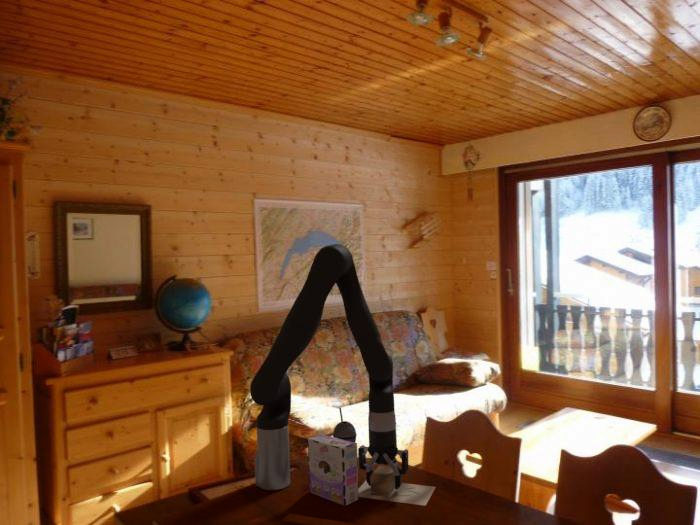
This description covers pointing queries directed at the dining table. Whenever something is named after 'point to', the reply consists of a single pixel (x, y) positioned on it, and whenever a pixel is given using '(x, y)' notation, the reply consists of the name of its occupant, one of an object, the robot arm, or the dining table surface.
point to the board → (401, 493)
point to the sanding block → (382, 481)
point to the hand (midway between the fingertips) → (384, 486)
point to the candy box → (333, 469)
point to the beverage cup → (345, 430)
